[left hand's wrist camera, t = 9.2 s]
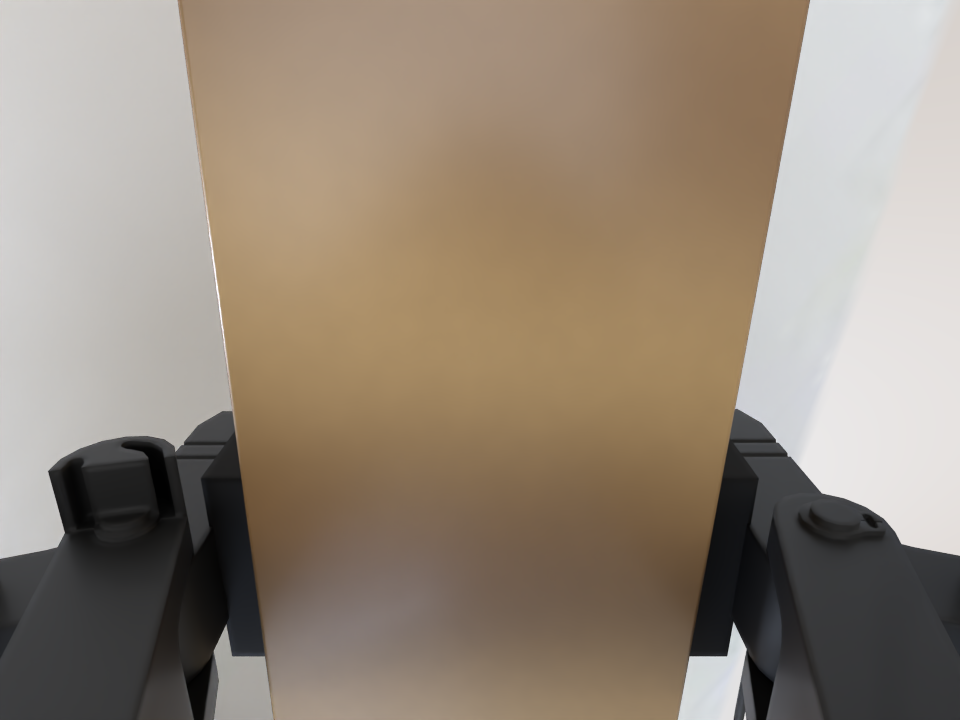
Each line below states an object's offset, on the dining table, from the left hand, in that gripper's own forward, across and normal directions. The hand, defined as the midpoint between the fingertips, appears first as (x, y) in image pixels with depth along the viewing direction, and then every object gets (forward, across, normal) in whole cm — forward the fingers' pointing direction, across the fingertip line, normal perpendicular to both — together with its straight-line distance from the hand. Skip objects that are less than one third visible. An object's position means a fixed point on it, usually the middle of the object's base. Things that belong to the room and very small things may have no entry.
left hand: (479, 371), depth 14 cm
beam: (0, 0, -25) cm, 25 cm away
